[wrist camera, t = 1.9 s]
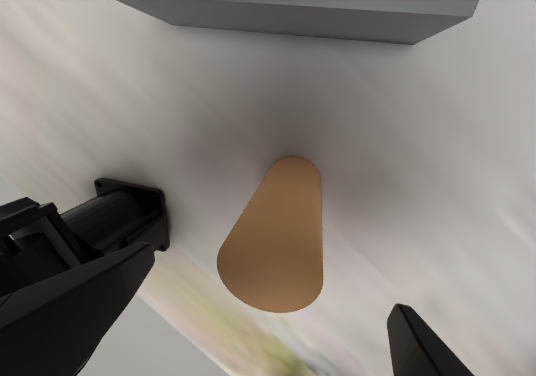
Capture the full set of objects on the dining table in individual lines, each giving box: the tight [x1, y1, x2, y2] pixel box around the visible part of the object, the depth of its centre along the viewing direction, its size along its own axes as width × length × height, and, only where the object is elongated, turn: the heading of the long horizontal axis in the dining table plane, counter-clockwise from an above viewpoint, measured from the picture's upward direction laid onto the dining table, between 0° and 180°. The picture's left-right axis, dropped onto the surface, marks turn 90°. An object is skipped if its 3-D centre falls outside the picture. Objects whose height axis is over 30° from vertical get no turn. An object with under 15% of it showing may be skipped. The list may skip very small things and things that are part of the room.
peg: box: [217, 156, 323, 313], centre depth 12 cm, size 4×4×9 cm
